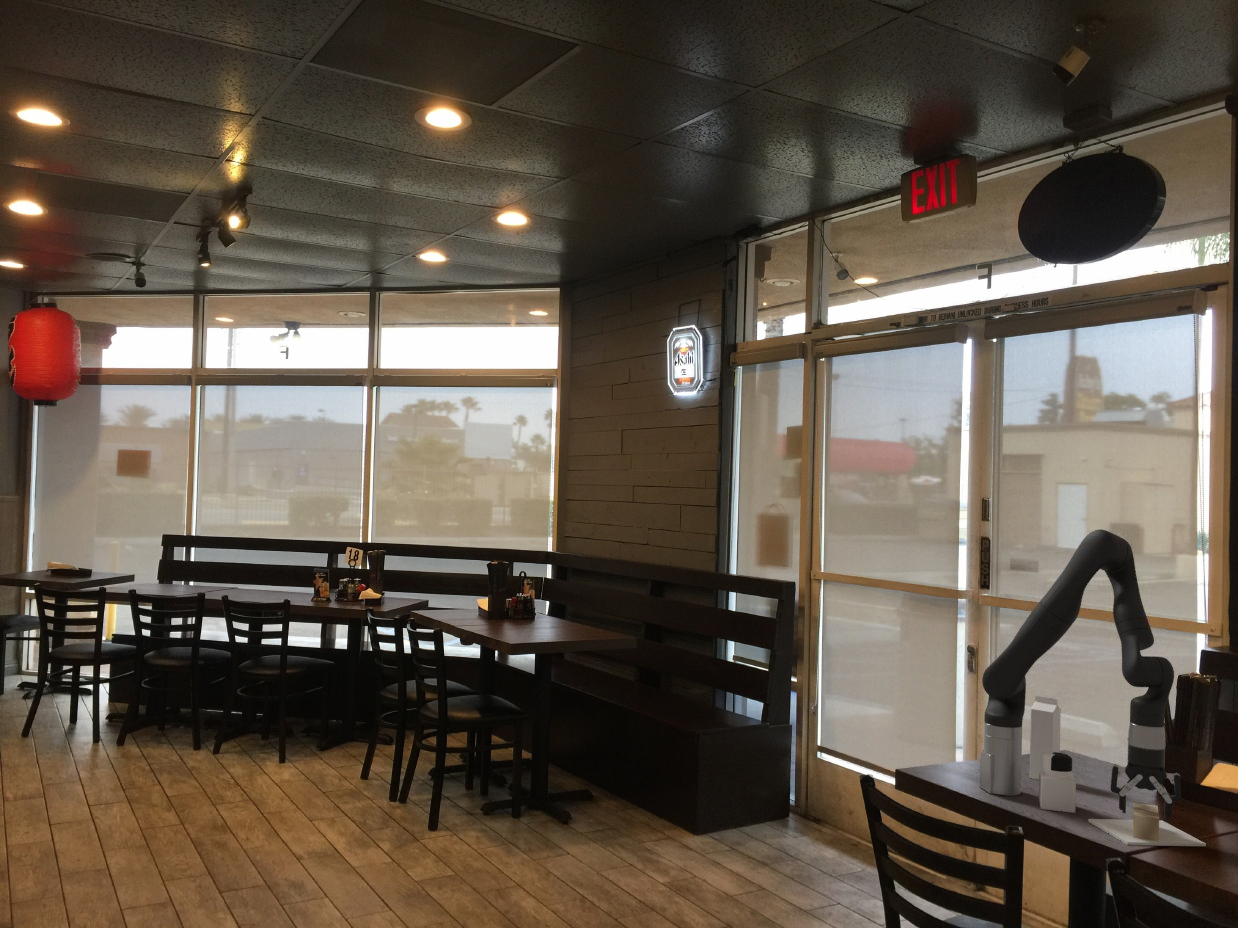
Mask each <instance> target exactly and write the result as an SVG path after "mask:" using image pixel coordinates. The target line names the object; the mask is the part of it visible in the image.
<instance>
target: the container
mask: <svg viewBox="0 0 1238 928" xmlns="http://www.w3.org/2000/svg"><path fill="white" fill-rule="evenodd" d="M1043 770H1044V771H1043ZM1043 770H1040V771H1039V780H1038V801H1039V805H1040V809H1041V810H1044V811H1045V810H1046V811H1055V812H1061V811H1062V812H1063V813H1069V814H1070V813H1071V814H1075V813H1076V803H1077V802H1076V800H1077V799H1076V797H1077V795H1076V794H1077V782H1076V779H1075V777H1074V775H1073V758H1072V757H1071V756H1070V755H1068V754H1066V753H1063V752H1060V753H1058V752H1048V753H1045V754H1044V755H1043ZM1062 812H1061V813H1062Z"/></svg>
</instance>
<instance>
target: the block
mask: <svg viewBox="0 0 1238 928" xmlns="http://www.w3.org/2000/svg"><path fill="white" fill-rule="evenodd" d="M1132 802H1133V804H1132V820H1133V837H1134V838H1140V839H1146V840H1152V841H1158V842H1159V820H1160V815H1159V814H1160V813H1159V807H1158V804H1153V803H1146V802H1140V801H1132Z"/></svg>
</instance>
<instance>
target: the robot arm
mask: <svg viewBox="0 0 1238 928" xmlns="http://www.w3.org/2000/svg"><path fill="white" fill-rule="evenodd" d="M1100 570H1102V571H1104V572H1105V573H1104V574H1106V576H1107V579H1108V580H1109V582H1110V585H1111V588H1112V591H1113V604H1112V615H1113V621H1114V626H1115V628H1116V630H1117V634H1118V638H1119V640H1120V645H1121V647H1120V648H1121V673H1122V676H1123V678H1124V680H1125V681H1126V682H1127V684H1129V685H1130V686H1132V687H1134V688H1135V687H1136V688H1148V689H1147V690H1146V693H1145V694H1142V695H1139V696H1135V697H1133V698H1131V700H1130V704H1129V726H1128V732H1127V733H1128V734H1127V735H1128V737H1127V765H1126V766H1120V765H1118V764H1116V763H1114V764H1113V765H1112V768H1111V771H1112V772H1111V778H1110V791H1111V793H1115V794H1117V795H1118V798H1119V799H1118V808H1119V810H1120V811H1122V812H1121V813H1122V814H1126V813H1127V794H1128V792H1130V791H1131V790H1132V789H1133V788H1134V787H1135V788H1137V789H1139V790H1148V791H1152V792H1153V791H1156V790H1157V792H1158V793H1159V794H1160V796H1162V798H1163V799H1164V813H1163V815H1164V821H1165V820H1166V821H1168V820H1169V818H1172V816H1173V813H1172V812H1173V804H1174V803H1181V801H1182V789H1181V788H1182V787H1181V775H1180V773H1178V772H1174V773H1168V772H1167V771H1166V770H1165V766H1166V765H1165V764H1166V763H1165V762H1166V761H1165V760H1166V744H1167V743H1166V732H1165V710H1166V706H1167V702H1168V699H1169V697H1170V693H1171V690H1172V688H1173V684H1174V680H1175V670H1174V666H1173V665H1172V663H1171V661H1169V660H1168V658H1166V657H1163V656H1155V655H1154V656H1150V655H1148V656H1147V655H1146V656H1145V655H1142V653H1141V651H1144V650H1147V649H1149V648H1151V647H1152V646H1153V645H1154V644H1155V638H1154V637H1155V636H1154V634H1153V631H1152V628H1151V625H1150V622H1149V619H1148V617H1147V613H1146V611H1145V607H1144V605H1143V601H1142V596H1141V592H1140V588H1139V583H1138V578H1137V577H1138V576H1137V571H1136V570H1137V569H1136V564H1135V557H1134V553H1133V550H1132V546H1131V544H1130V543H1129V542H1128V541H1127V540H1126V539H1124V538H1123V537H1122V536H1119V535H1117V534H1116V533H1115V534H1114V533H1112V532H1111V531H1110V530H1109V531H1108V530H1107V529H1106V530H1105V529H1095V530H1093V531H1091V532H1089V533H1088V534H1087V535H1086V536H1085V537H1083V539H1082V541H1081V542H1080V543H1079V545H1078V547H1077V549H1076V550H1075V551H1074V553H1073V555H1072V556H1071V558H1070V560H1069V562H1068V563H1067V564H1066V566H1065V568H1064V569H1063V570H1062V572H1061V573H1060V575H1059V576H1058V578H1057V579H1056V580H1055V581H1054V582H1053V584H1052V585H1051V587H1050V588H1049V589H1048V591H1047V592H1046V593H1045V594H1044V596H1043V597H1042V598H1041V599H1040V601H1039V602H1038V603H1037V604H1036V606H1034V608H1033V609H1032V611H1031V612H1030V613H1029V615H1028V617H1026V619H1025V621H1024V622H1023V624H1022V625H1021V627H1019V630H1018V631H1017V633H1016V634H1015V636H1014V638H1013V639H1012V641H1011V642H1010V643H1009V644H1008V645H1007V647H1006V648H1005V649H1004V650H1003V651H1002V652H1001V653H1000V654H999V656H997V657H996V659H995V660H993V662H991V663H990V664H989V666H987V668H986V669H985V670H984V672H983V674H982V681H981V682H982V688H983V690H984V691H985V693H986V694H987V695H988V698H987V699H988V700H987V705H986V708H985V710H984V716H983V717H984V718H983V719H984V720H983V722H984V726H983V729H984V730H983V750H982V749H981V750H980V759H979V763H980V764H979V788H981V789H982V790H984V791H985V792H987V793H988V794H994V795H1000V796H1001V795H1002V796H1018V795H1021V794H1022V793H1021V792H1022V755H1023V754H1022V753H1023V752H1022V751H1023V750H1022V749H1023V748H1022V747H1023V743H1022V742H1023V720H1024V717H1025V716H1024V714H1025V711H1026V710H1025V709H1026V692H1027V682H1026V681H1027V679H1026V675H1027V674H1028V673H1029V671H1030V670H1031V668H1032V667H1033V666H1034V665H1035V663H1036V662H1037V661H1038V660H1039V659H1040V658H1042V656H1043V655H1044V654H1046V653H1047V652H1048V651H1049V650H1051V648H1053V647H1054V646H1055V645H1056V644H1057V643H1058V642H1059V641H1060V640H1061V638H1062V637H1063V636H1064V635H1065V634H1066V633H1067V631H1069V629H1070V628H1071V627H1072V625H1073V624H1074V623H1075V621H1076V620H1077V619H1078V616H1079V614H1080V610H1081V607H1082V602H1083V597H1084V594H1085V593H1084V592H1085V590H1086V587H1087V586H1088V585H1089V583H1090V581H1091V580H1092V578H1094V577H1095V575H1096V574H1097V572H1099V571H1100ZM1123 773H1125V775H1126V777H1128V780H1127V781H1126V782H1125V783H1124V784H1123V785H1122V786H1121V787H1119V786H1118V777H1121V776H1122V774H1123ZM1167 779H1168V780H1169V781H1170V784H1172V785H1173V791H1174V795H1173V794H1172V795H1170V794H1169V792H1168V791H1167V790H1166V787H1165V786H1164V785H1163V783H1165V781H1167Z"/></svg>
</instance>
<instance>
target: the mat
mask: <svg viewBox="0 0 1238 928" xmlns="http://www.w3.org/2000/svg"><path fill="white" fill-rule="evenodd" d="M1087 820H1088V823H1090V824H1091V825H1093V826H1094V827H1097V828H1098V829H1100V830H1101V831H1103V832H1105V833H1107V834H1108V833H1109V834H1108V835H1110V836H1112V837H1113V838H1115V839H1117V840H1118V839H1119V840H1118V841H1120V840H1121V841H1120V842H1122V843H1123V844H1125V845H1127V844H1129V845H1128V846H1160V847H1161V846H1163V847H1165V846H1167V847H1169V846H1170V847H1173V846H1174V847H1206V846H1207V843H1206V842H1204V841H1201V840H1199V839H1198V838H1196V837H1194V836H1192V835H1191V834H1189V833H1186V832H1185V831H1182V830H1181V829H1179V828H1177V827H1175V826H1173V825H1171V824H1170V823H1168V822H1166V821H1165V820H1164V821H1163V820H1162V819H1161V820H1160V819H1159V842H1158V841H1152V840H1146V839H1140V838H1134V837H1133V819H1117V818H1116V819H1114V818H1113V819H1112V818H1111V819H1109V818H1108V819H1107V818H1105V819H1104V818H1102V819H1100V818H1088V819H1087Z"/></svg>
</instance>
